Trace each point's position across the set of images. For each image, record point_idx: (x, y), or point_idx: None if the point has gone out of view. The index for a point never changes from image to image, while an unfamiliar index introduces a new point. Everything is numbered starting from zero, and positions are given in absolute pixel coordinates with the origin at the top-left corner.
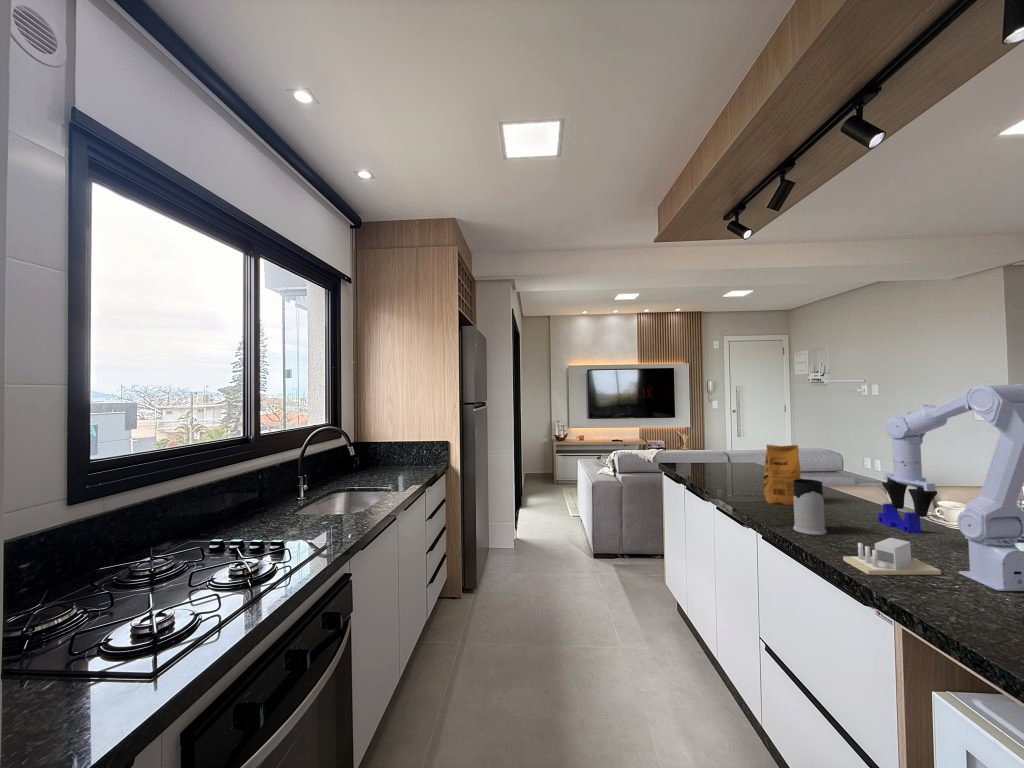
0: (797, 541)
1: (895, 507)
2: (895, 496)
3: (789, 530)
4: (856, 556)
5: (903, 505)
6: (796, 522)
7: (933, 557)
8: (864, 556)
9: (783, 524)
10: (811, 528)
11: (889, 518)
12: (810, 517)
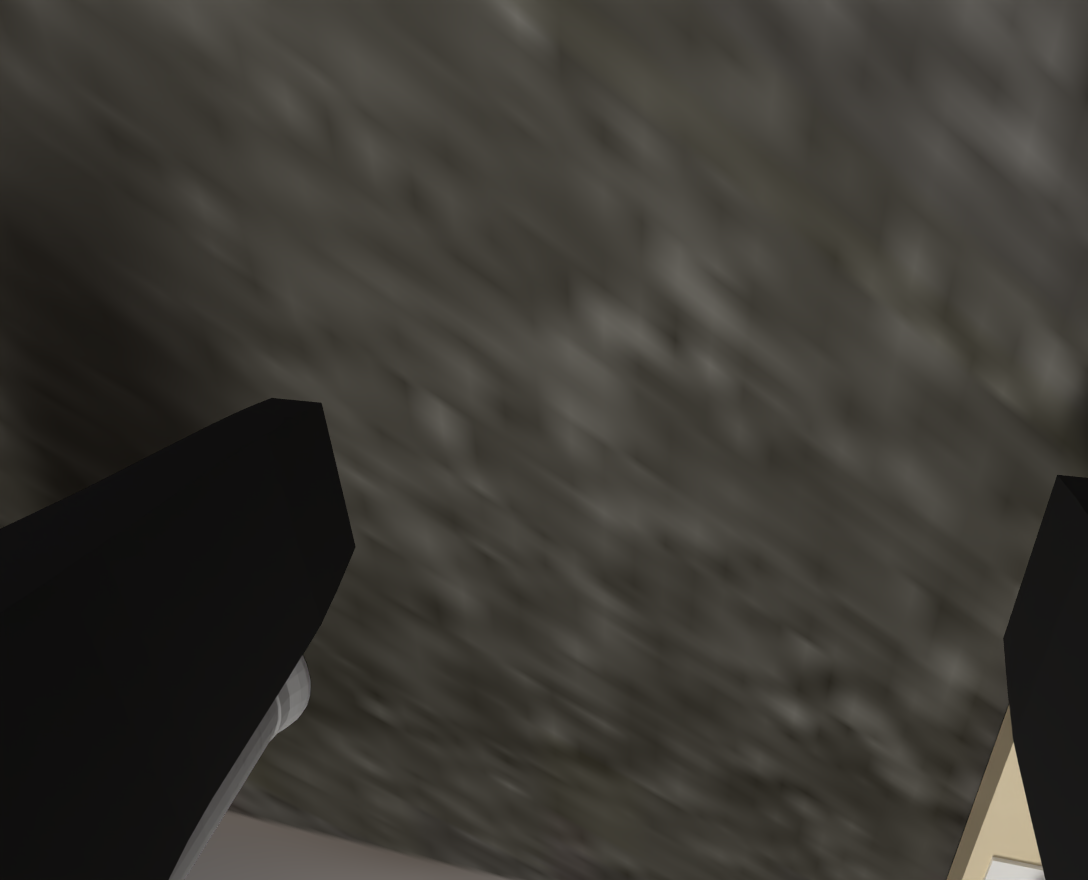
0: (499, 858)
1: (339, 568)
2: (163, 774)
3: None
4: (969, 875)
5: (279, 446)
6: None
7: (1085, 141)
8: (982, 833)
9: None
10: (272, 730)
11: None
12: (216, 823)
